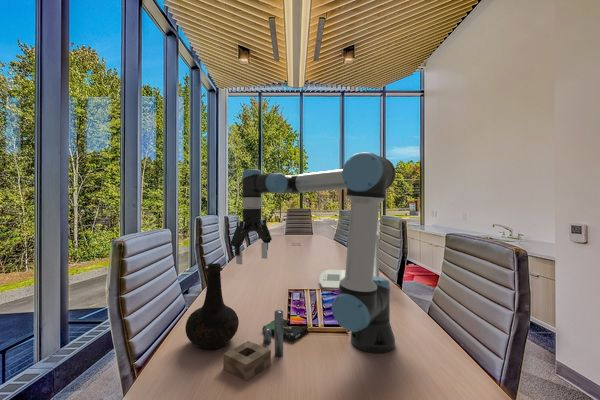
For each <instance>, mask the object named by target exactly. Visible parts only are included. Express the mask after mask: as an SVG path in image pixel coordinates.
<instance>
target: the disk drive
mask: <svg viewBox="0 0 600 400" xmlns="http://www.w3.org/2000/svg"><path fill="white" fill-rule="evenodd" d="M262 326H263V327H262V330H263V329H264V328H271V336H274V337H275V319H273V320H272V321H270V322H269V323H267V324H264V325H262ZM308 327H309V326H308ZM308 327H288V325H287V319H286V318H285V319H284V318H283V341H284V340H285V341H287V342H291V343H295V342H296V341H298V340H299V339H301V338H302V337H304V336H305V335H307V334H308V333H309V332H308V330H307V328H308ZM294 341H295V342H294Z"/></svg>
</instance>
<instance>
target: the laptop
mask: <svg viewBox="0 0 600 400" xmlns="http://www.w3.org/2000/svg"><path fill="white" fill-rule="evenodd" d="M345 270H346V269H327V268H326V269H325V270H324V271H322V272H321V273H320V275H319V280H318V282H319V284H320V285H321V288H323V289H325V290H327V289H339V284H340V280H342V279H343V278H344V277H345ZM379 275H380V234H379V231H378V230H377V236H376V248H375V260H374V271H373V276H375V277H380V276H379Z"/></svg>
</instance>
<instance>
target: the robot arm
mask: <svg viewBox="0 0 600 400" xmlns="http://www.w3.org/2000/svg"><path fill="white" fill-rule="evenodd" d="M396 174H397V173H396V168H395V165H394V164H393V163H392V162H391V160H389V159H388V158H386V157H383V156H379V155H377V154H375V153H374V152H366V151H365V152H357V153H355V154H353V155H352V156H350V157H349V158H348V159H347V160H346V161H345V162H344V165H343V168H341V169H332V170H326V171H316V172H309V173H308V172H306V173H300V174H293V175H292V174H290V175H288V174H284V173H282V172H272V173H271V172H270V173H262V171H261V169H255V168H254V169H253V168H251V169H244V170H243V171H242V175H241V176H242V179H241V187H242V208H243V209H242V218H243V220H238V221H237V222H236V228H235V229H234V230H235V231H234V233H233V234H232V235H233V236H232V239H231V241H230V243H229V245H230V246H231V247H234V255H235V263H236V265H243V247H242V245H243V242H244V241H245V239H246V238H247V236H248V234H249V233H253V232H256V234H257V236H258V237H259V238H260V240H261V241H262V242H261V244H260V245H261V246H260V247H261V251H260V252H261V259H266V260H267V259H268V251H269V243H271V241H272V240H273V239H272V236H271V233H270V230H269V227H268V225H267V220H266V219H261V218H262V209H261V208H262V194H291V195H297V194H301V193H313V192H326V191H338V190H341V191H342V190H346V198H347V199H349V201H350V208H349V209H350V210H349V222H348V234H347V246H346V247H347V249H346V256H345V258H346V259H345V269H344V270H345V277H344V278H343V279H342V280H340V284H339V291H338V295H336V296H335V297H334V299H333V301H332V303H331V313H332V315H333V318H334V319H335V321H336V322H337V324H338V325H339V326H340V327H341V328H342V329H344V330H345V331H349V332H350V342H351V343H350V344H352V346H353V347H355V348H356V349H358V350H361V351H363V352H365V353H371V354H384V353H388V352H392V351H393V350H394V349H395V347H396V340H395V339H396V338H395V334H394V331H393V328H392V326H391V322H390V321H391V320H390V319H391V316H390V314H391V313H390V311H391V310H390V305H391V301H390V299H391V298H390V297H391V296H390V293H391V292H390V291H391V288H390V281H389V280H388V279H387V278H385V277H380V276H379V277H375V276H373V271H374V260H375V248H376V236H377V231H378V223H379V209H380V204H381V203H382V202H383V201H384V200H386V190H388V189H389V188H391V187H392V186H393V184H394V183H395V180H396V177H397V175H396Z"/></svg>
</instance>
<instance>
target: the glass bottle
mask: <svg viewBox="0 0 600 400" xmlns="http://www.w3.org/2000/svg"><path fill="white" fill-rule="evenodd" d="M204 271H205V272H207V278H206V279H207V280H206V281H207V282H206V291H205V297H204V301H203V304H202V306H201V307H199V308H196V309H195V310H193V312H191V313H190V315H189V316H188V318H187V320H186V323H185V328H184V329H185V334H186V337H187V339H188V340H189V342H191V344H193V345H194V346H196V347H199V348H201V349H205V350H212V349H213V350H214V349H218V348H220V347H224V346H226V345H227V344H228V343H229V342H230V341H231V340H233V337H234V336H235V335H236V334H237V331H238V329H239V322H240V321H239V316H238V315H237V312H236V311H235V310H234V309H233V308H231V307H230V306H227V305H226V304H225V302H224V297H223V292H222V280H221V279H222V277H221V271H223V267H221V263H219V262H216V263H213V262H210V263H208V264H207V267H206V268H205V270H204Z"/></svg>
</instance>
